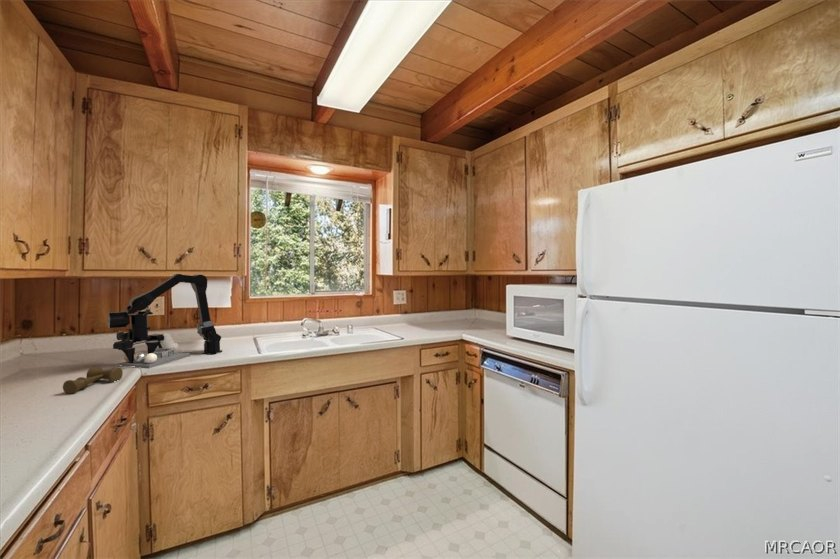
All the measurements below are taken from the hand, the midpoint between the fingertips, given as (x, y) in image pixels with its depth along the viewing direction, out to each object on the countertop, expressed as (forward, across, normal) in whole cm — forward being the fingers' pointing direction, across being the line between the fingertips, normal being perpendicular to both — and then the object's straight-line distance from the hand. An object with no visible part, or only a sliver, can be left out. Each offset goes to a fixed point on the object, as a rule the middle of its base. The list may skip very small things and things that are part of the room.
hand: (140, 360), depth 154 cm
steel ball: (-1, 0, 0) cm, 1 cm away
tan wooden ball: (-1, 0, -6) cm, 6 cm away
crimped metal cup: (+1, -12, -2) cm, 12 cm away
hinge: (+2, -25, -14) cm, 29 cm away
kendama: (+3, +24, +8) cm, 25 cm away
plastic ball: (-1, 0, +6) cm, 6 cm away
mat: (+2, -8, 0) cm, 8 cm away
